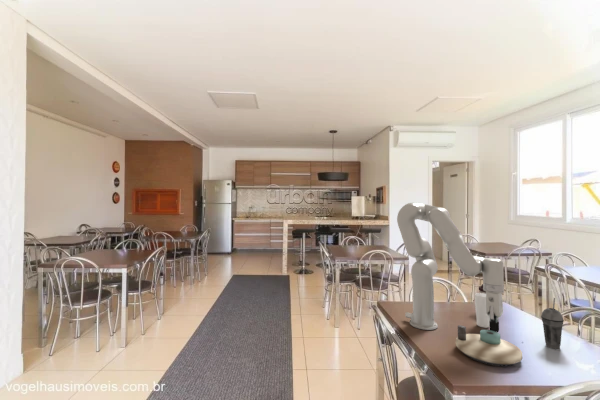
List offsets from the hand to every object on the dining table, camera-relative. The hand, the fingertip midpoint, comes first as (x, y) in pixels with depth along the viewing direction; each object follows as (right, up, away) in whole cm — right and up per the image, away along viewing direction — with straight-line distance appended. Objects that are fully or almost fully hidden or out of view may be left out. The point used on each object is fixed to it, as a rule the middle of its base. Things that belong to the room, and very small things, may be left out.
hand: (494, 330), depth 129 cm
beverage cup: (+21, -5, -5) cm, 22 cm away
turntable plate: (-10, -3, -11) cm, 15 cm away
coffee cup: (+20, -6, +34) cm, 40 cm away
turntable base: (-10, -4, -11) cm, 16 cm away
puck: (-6, -1, -7) cm, 9 cm away
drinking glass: (+5, -5, +17) cm, 18 cm away
